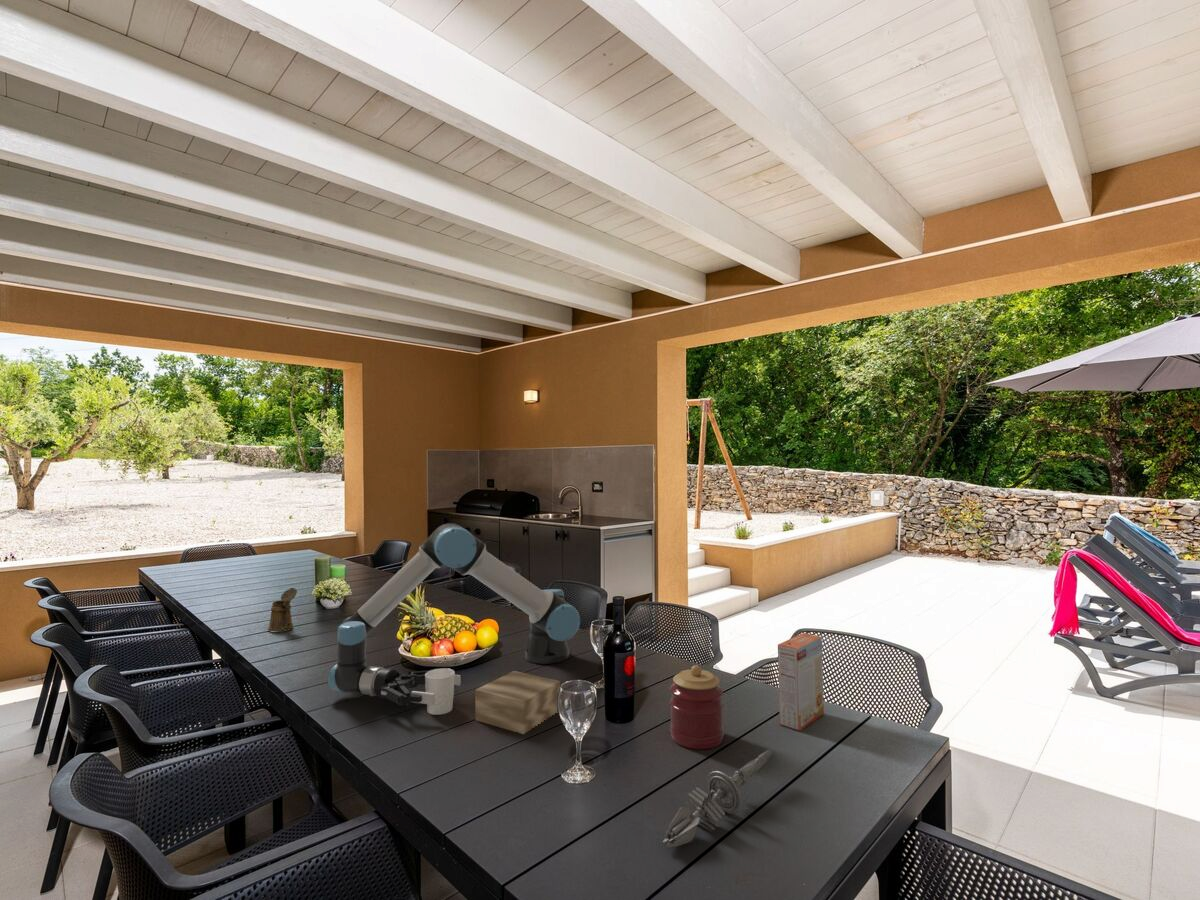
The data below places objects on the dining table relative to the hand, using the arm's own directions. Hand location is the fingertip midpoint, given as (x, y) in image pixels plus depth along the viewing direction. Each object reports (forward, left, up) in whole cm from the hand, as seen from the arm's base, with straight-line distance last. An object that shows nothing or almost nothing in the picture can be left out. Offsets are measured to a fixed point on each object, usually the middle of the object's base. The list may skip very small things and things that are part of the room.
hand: (447, 689), depth 162 cm
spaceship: (+7, +81, -6) cm, 81 cm away
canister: (-19, +65, -6) cm, 68 cm away
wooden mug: (-22, -114, -6) cm, 117 cm away
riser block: (-7, +19, -6) cm, 21 cm away
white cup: (+1, -2, -6) cm, 7 cm away
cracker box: (-42, +85, -6) cm, 95 cm away
